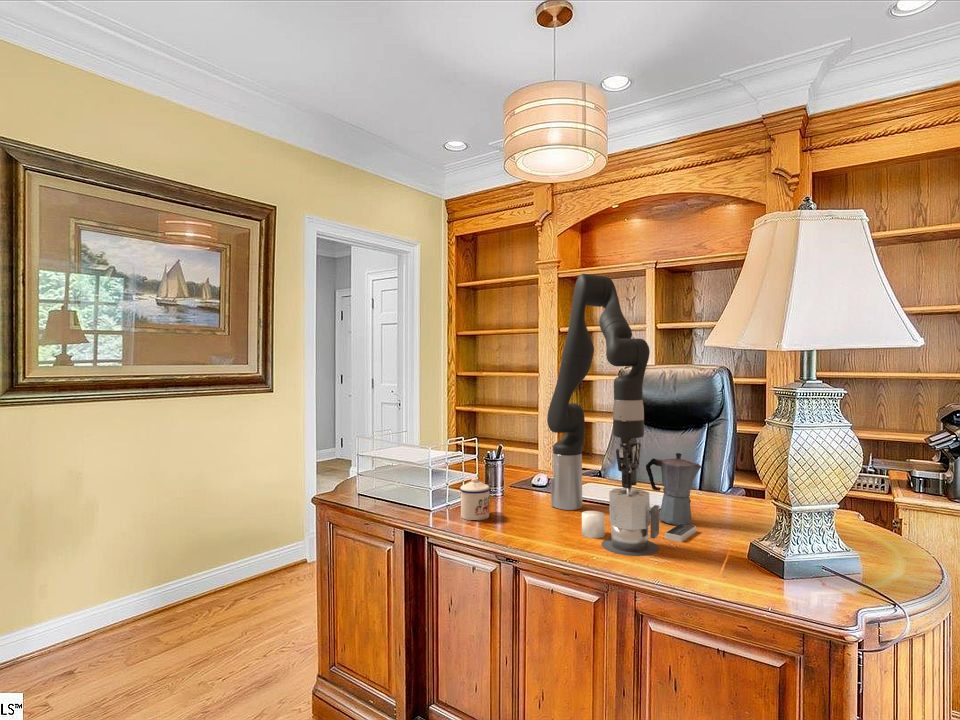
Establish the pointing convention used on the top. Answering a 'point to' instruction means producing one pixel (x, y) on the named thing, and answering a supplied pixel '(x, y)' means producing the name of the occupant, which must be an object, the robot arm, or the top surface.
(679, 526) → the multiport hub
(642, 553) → the coaster
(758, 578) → the top surface
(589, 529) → the white rounded cylinder
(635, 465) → the plunger
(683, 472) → the moka pot
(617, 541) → the press carafe
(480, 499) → the teacup with lid
